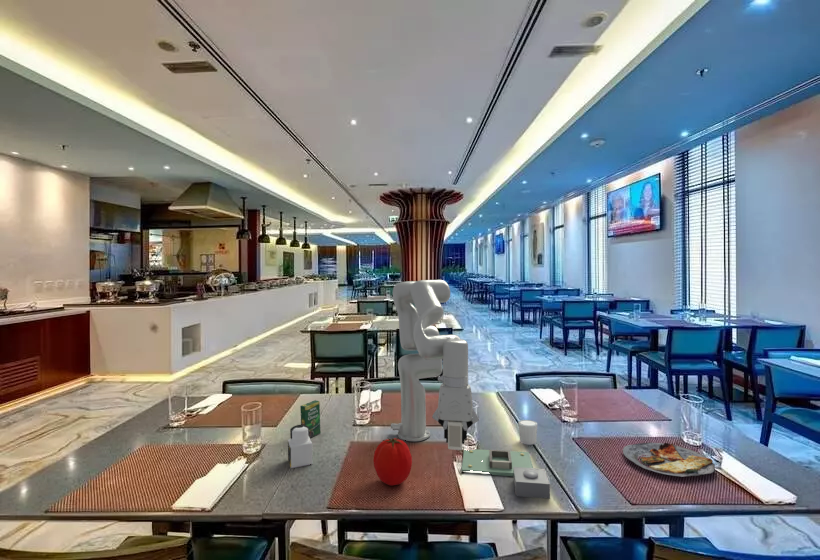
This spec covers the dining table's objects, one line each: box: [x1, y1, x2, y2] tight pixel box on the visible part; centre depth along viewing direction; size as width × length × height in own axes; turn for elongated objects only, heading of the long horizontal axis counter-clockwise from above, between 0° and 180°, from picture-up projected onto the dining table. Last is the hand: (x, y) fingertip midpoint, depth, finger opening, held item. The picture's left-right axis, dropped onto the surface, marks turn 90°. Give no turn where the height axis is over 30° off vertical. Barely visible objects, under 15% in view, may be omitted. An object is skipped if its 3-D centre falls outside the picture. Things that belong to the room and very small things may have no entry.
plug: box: [447, 421, 463, 451], centre depth 121 cm, size 4×6×8 cm, turn 170°
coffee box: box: [299, 399, 321, 439], centre depth 158 cm, size 8×3×13 cm, turn 147°
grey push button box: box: [513, 467, 551, 499], centre depth 115 cm, size 9×9×5 cm
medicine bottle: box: [287, 424, 313, 469], centre depth 135 cm, size 7×7×12 cm
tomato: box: [372, 437, 413, 486], centre depth 120 cm, size 12×12×13 cm
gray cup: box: [517, 419, 538, 446], centre depth 149 cm, size 7×7×7 cm
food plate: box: [622, 441, 716, 478], centre depth 130 cm, size 25×23×4 cm
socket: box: [488, 449, 512, 469], centre depth 130 cm, size 7×9×2 cm
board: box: [461, 448, 534, 477], centre depth 132 cm, size 22×16×1 cm
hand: (455, 440), depth 121 cm, fingers closed on plug, 4 cm apart
